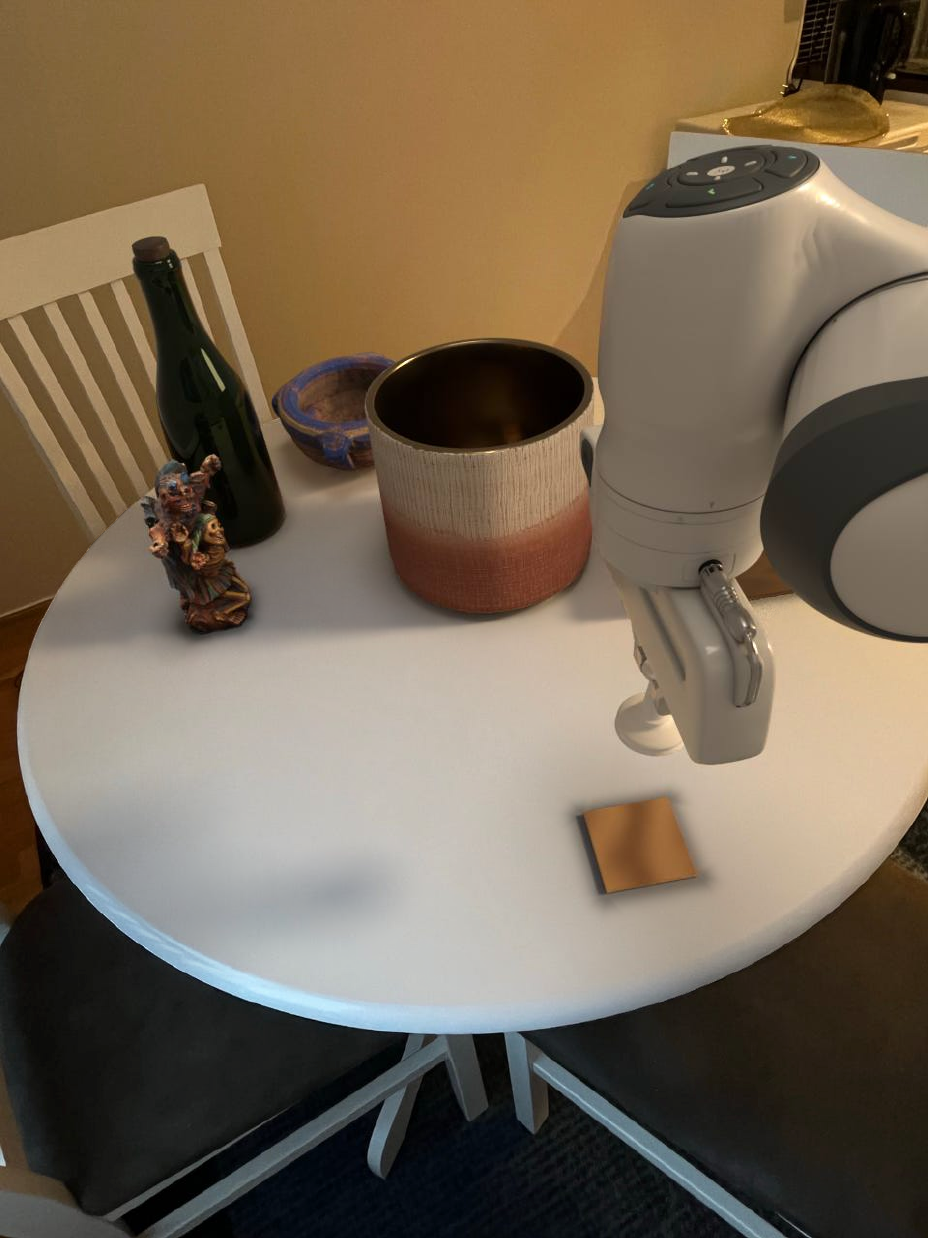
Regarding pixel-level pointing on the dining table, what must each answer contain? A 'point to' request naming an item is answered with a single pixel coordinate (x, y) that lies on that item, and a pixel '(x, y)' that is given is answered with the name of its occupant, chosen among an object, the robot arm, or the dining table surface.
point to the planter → (483, 471)
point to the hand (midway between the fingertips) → (658, 684)
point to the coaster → (638, 845)
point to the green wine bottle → (206, 402)
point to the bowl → (331, 410)
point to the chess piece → (646, 724)
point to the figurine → (195, 548)
